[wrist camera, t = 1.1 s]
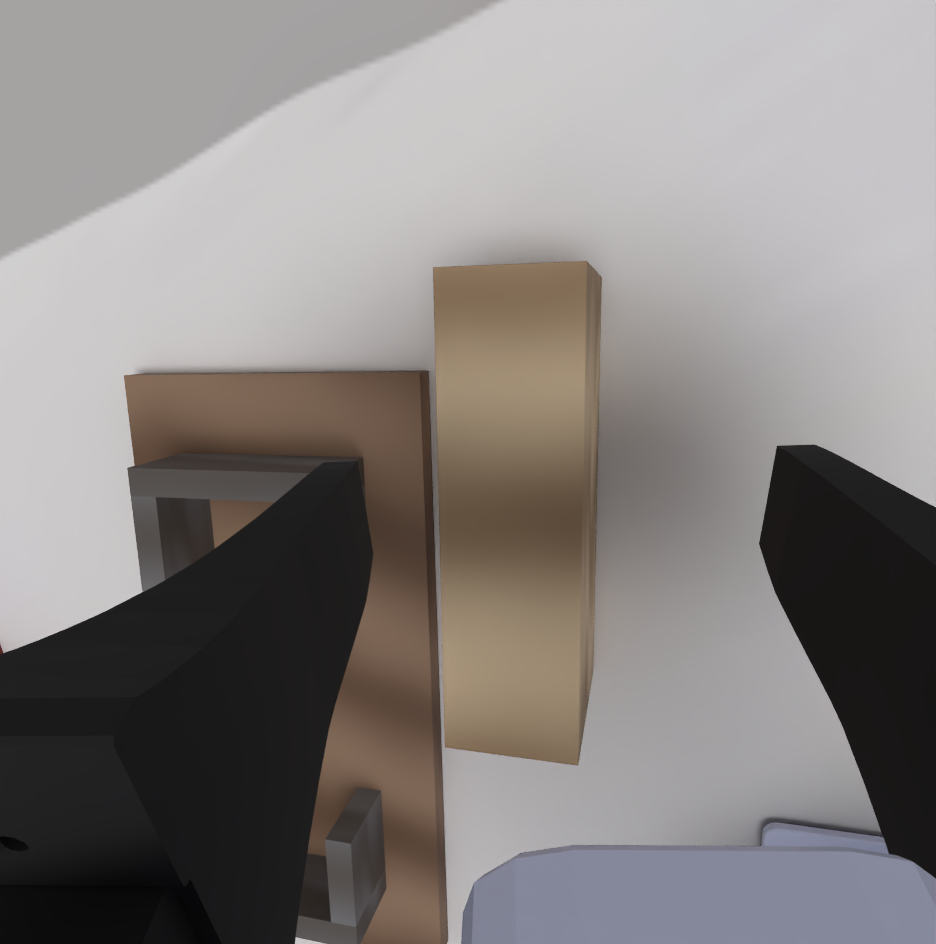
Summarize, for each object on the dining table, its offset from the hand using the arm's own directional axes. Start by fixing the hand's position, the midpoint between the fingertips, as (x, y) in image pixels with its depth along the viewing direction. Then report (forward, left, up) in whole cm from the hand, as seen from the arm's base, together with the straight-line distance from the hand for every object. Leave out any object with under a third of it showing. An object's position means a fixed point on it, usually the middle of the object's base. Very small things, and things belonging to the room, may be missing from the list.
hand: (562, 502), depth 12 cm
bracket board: (-10, +12, -12) cm, 20 cm away
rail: (-2, +2, -12) cm, 13 cm away
